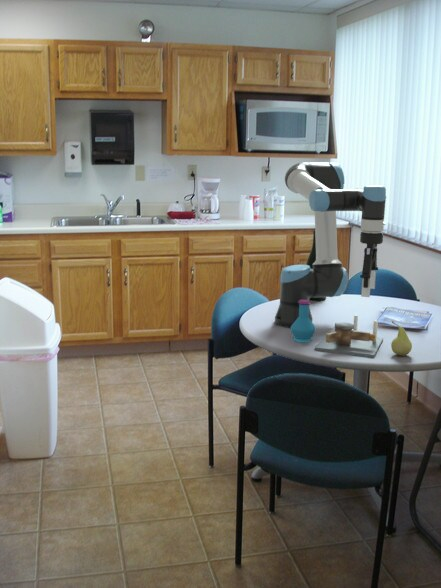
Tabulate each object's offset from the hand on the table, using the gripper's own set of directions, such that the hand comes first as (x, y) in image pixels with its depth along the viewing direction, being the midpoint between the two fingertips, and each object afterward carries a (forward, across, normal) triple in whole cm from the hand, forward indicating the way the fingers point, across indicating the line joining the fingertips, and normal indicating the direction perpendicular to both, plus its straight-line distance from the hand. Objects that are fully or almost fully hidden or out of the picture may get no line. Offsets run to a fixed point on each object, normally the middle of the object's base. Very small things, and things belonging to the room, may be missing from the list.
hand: (368, 292), depth 235 cm
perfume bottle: (+22, +6, +24) cm, 33 cm away
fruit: (+22, +1, -12) cm, 25 cm away
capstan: (+20, +3, +5) cm, 21 cm away
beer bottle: (+21, +72, +33) cm, 82 cm away
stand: (+21, +6, +6) cm, 23 cm away
